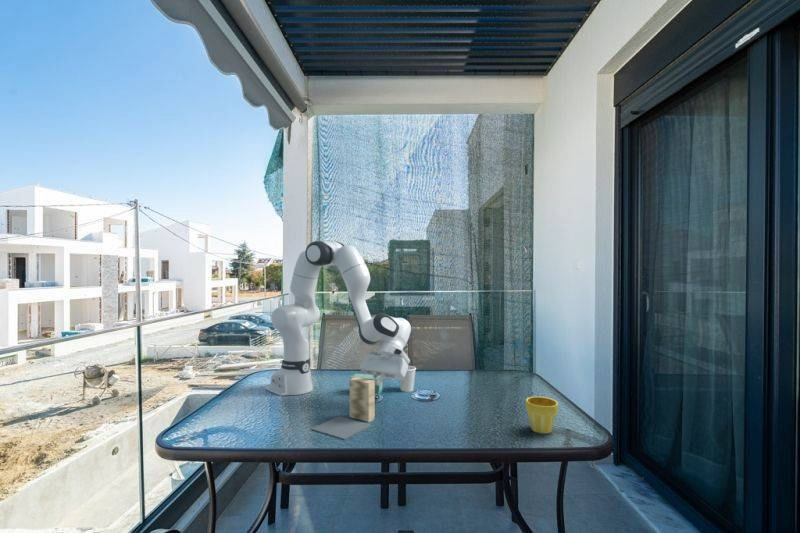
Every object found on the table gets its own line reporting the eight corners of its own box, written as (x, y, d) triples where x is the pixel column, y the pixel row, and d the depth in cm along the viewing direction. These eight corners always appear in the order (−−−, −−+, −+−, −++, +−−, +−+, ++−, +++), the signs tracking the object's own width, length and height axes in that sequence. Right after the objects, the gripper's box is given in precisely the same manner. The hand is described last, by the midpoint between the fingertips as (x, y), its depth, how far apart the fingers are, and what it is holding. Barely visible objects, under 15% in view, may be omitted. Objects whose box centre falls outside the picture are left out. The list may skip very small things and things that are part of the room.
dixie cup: (416, 392, 181) (416, 370, 181) (397, 392, 181) (397, 370, 181) (416, 387, 190) (415, 365, 190) (397, 387, 190) (397, 365, 190)
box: (379, 396, 177) (378, 378, 177) (349, 394, 180) (349, 377, 180) (383, 391, 184) (383, 374, 184) (354, 389, 187) (354, 373, 187)
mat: (311, 429, 140) (311, 428, 140) (339, 417, 152) (339, 416, 152) (344, 439, 132) (344, 438, 132) (371, 425, 144) (371, 424, 144)
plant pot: (561, 437, 133) (560, 407, 133) (527, 435, 135) (527, 405, 135) (554, 425, 144) (554, 397, 144) (524, 423, 145) (523, 395, 145)
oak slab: (349, 417, 152) (349, 379, 152) (355, 414, 155) (355, 377, 155) (368, 422, 147) (368, 383, 147) (374, 419, 150) (374, 380, 150)
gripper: (365, 347, 169) (350, 376, 161) (407, 352, 158) (393, 383, 150) (372, 356, 173) (357, 384, 165) (413, 361, 162) (400, 392, 153)
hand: (375, 384), depth 157 cm, fingers closed
